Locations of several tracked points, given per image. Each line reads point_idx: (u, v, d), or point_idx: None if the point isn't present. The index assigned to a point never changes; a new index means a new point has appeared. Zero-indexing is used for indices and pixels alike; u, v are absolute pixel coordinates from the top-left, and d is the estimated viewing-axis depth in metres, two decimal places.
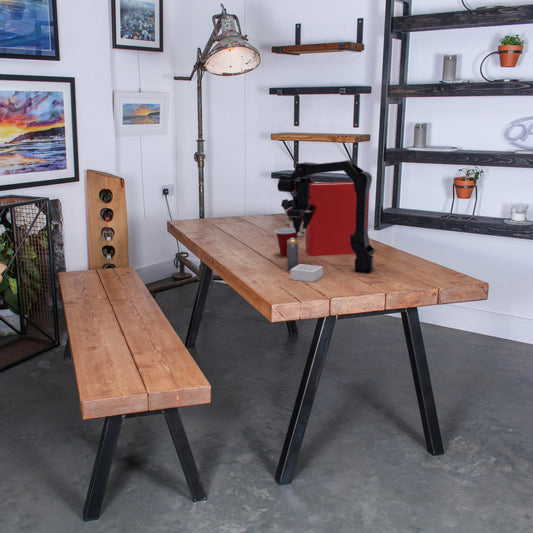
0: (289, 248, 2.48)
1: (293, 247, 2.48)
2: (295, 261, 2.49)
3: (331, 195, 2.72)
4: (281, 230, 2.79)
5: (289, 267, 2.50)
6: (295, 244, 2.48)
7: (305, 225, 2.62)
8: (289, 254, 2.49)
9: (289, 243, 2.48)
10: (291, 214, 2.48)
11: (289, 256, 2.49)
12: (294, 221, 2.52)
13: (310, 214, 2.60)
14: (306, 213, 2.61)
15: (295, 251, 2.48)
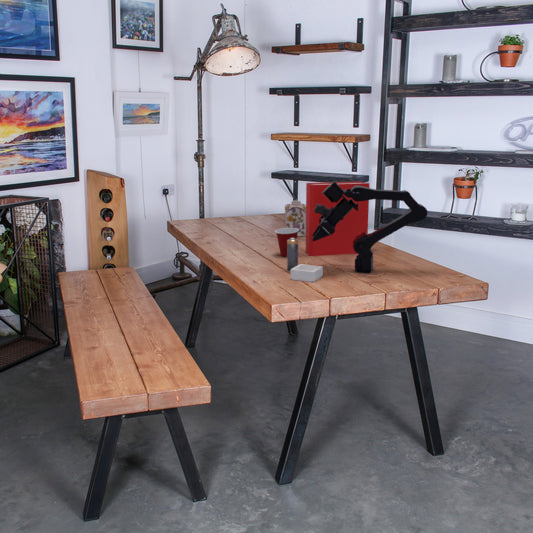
0: (289, 248, 2.48)
1: (293, 247, 2.48)
2: (295, 261, 2.49)
3: None
4: (281, 230, 2.79)
5: (289, 267, 2.50)
6: (295, 244, 2.48)
7: (315, 234, 2.52)
8: (289, 254, 2.49)
9: (289, 243, 2.48)
10: (325, 227, 2.38)
11: (289, 256, 2.49)
12: (319, 231, 2.42)
13: None
14: None
15: (295, 251, 2.48)
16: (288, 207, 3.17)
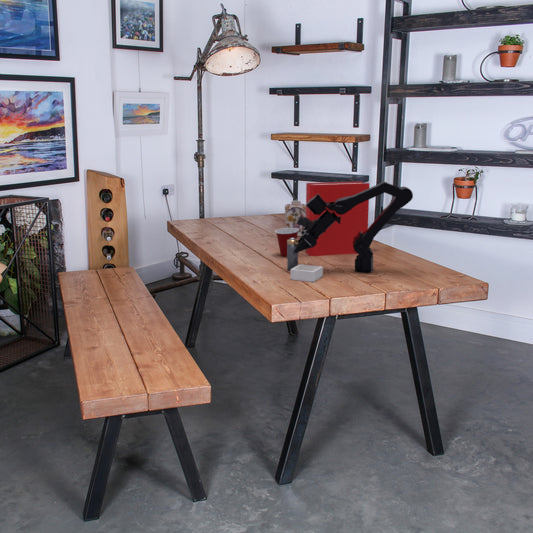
0: (289, 248, 2.48)
1: (293, 247, 2.48)
2: (295, 261, 2.49)
3: (331, 195, 2.72)
4: (281, 230, 2.79)
5: (289, 267, 2.50)
6: (295, 244, 2.48)
7: None
8: (289, 254, 2.49)
9: (289, 243, 2.48)
10: (307, 239, 2.39)
11: (289, 256, 2.49)
12: (301, 243, 2.43)
13: None
14: None
15: None
16: (288, 207, 3.17)
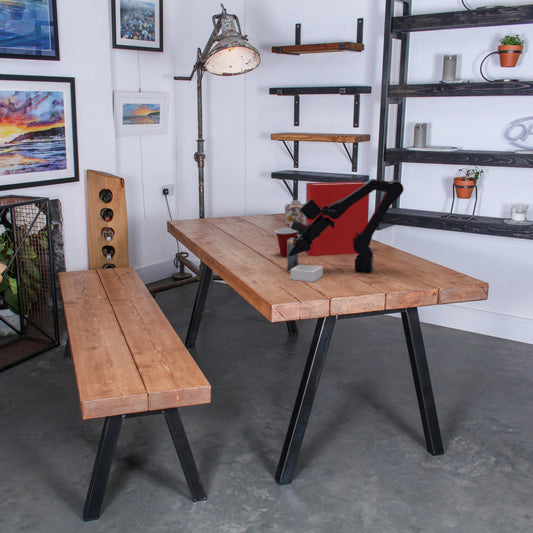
0: (289, 248, 2.48)
1: None
2: (295, 261, 2.49)
3: (331, 195, 2.72)
4: (281, 230, 2.79)
5: (289, 267, 2.50)
6: (295, 244, 2.48)
7: None
8: None
9: (289, 243, 2.48)
10: (301, 244, 2.40)
11: (289, 256, 2.49)
12: (295, 247, 2.46)
13: None
14: None
15: None
16: (288, 207, 3.17)
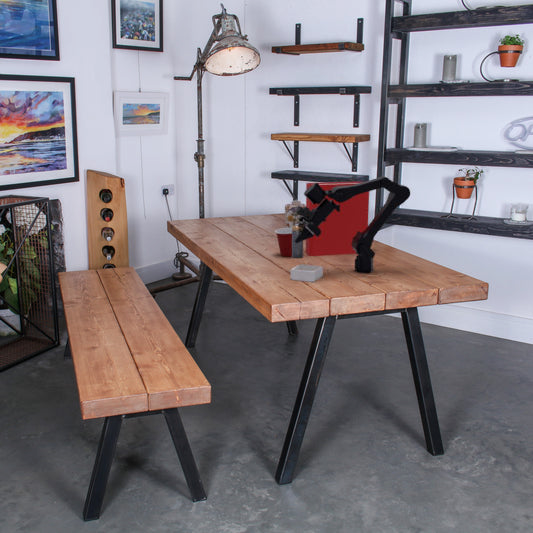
0: (295, 234, 2.40)
1: (299, 233, 2.40)
2: (301, 248, 2.42)
3: None
4: (281, 230, 2.79)
5: (295, 254, 2.42)
6: (301, 230, 2.40)
7: None
8: None
9: (295, 229, 2.40)
10: (312, 229, 2.33)
11: (295, 243, 2.41)
12: (303, 233, 2.38)
13: None
14: None
15: None
16: (288, 207, 3.17)
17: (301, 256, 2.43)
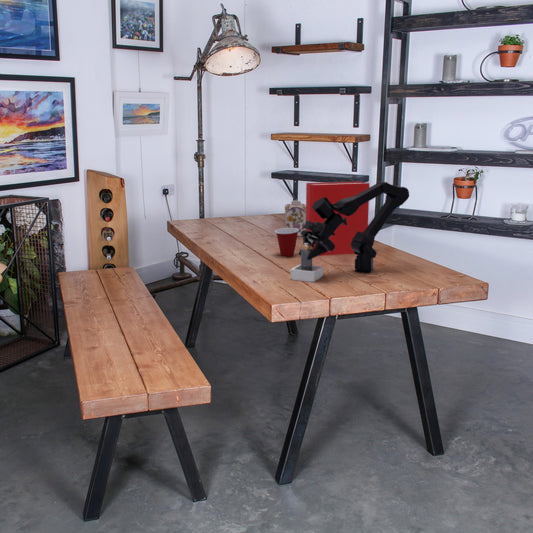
0: (305, 254, 2.35)
1: (309, 252, 2.36)
2: (311, 267, 2.38)
3: (331, 195, 2.72)
4: (281, 230, 2.79)
5: None
6: (311, 249, 2.36)
7: None
8: (306, 260, 2.36)
9: (305, 248, 2.35)
10: (327, 244, 2.30)
11: (305, 262, 2.36)
12: (316, 249, 2.33)
13: (312, 245, 2.43)
14: (309, 242, 2.42)
15: None
16: (288, 207, 3.17)
17: None
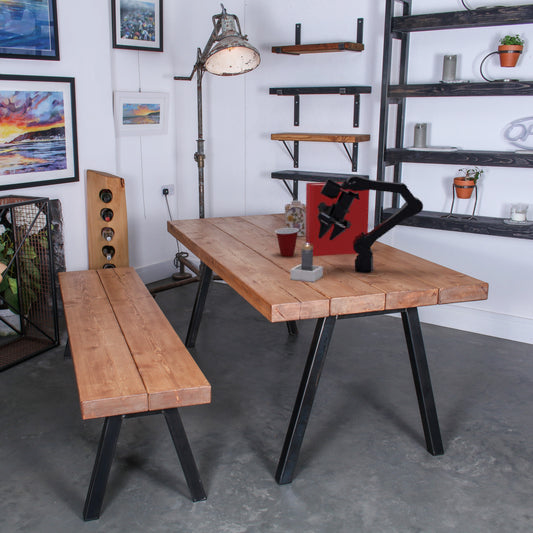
0: (306, 254, 2.36)
1: (310, 252, 2.36)
2: (311, 267, 2.38)
3: None
4: (281, 230, 2.79)
5: None
6: (312, 249, 2.36)
7: (331, 237, 2.51)
8: (306, 260, 2.36)
9: (306, 248, 2.35)
10: (321, 218, 2.39)
11: (306, 262, 2.36)
12: (321, 226, 2.42)
13: (341, 229, 2.50)
14: (338, 226, 2.51)
15: (312, 256, 2.37)
16: (288, 207, 3.17)
17: None
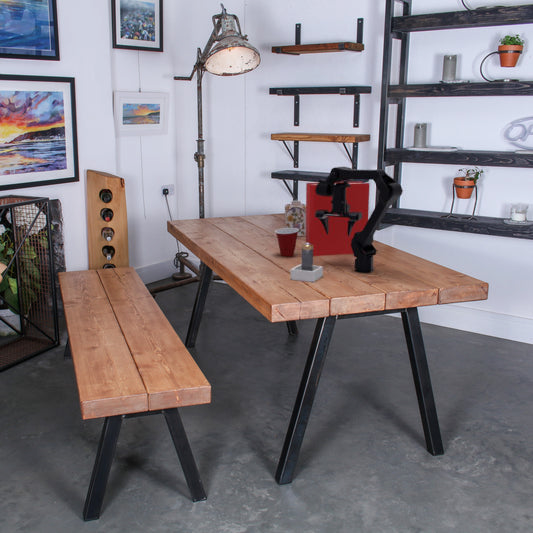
0: (306, 254, 2.36)
1: (310, 252, 2.36)
2: (311, 267, 2.38)
3: None
4: (281, 230, 2.79)
5: None
6: (312, 249, 2.36)
7: None
8: (306, 260, 2.36)
9: (306, 248, 2.35)
10: None
11: (306, 262, 2.36)
12: None
13: None
14: None
15: (312, 256, 2.37)
16: (288, 207, 3.17)
17: None
